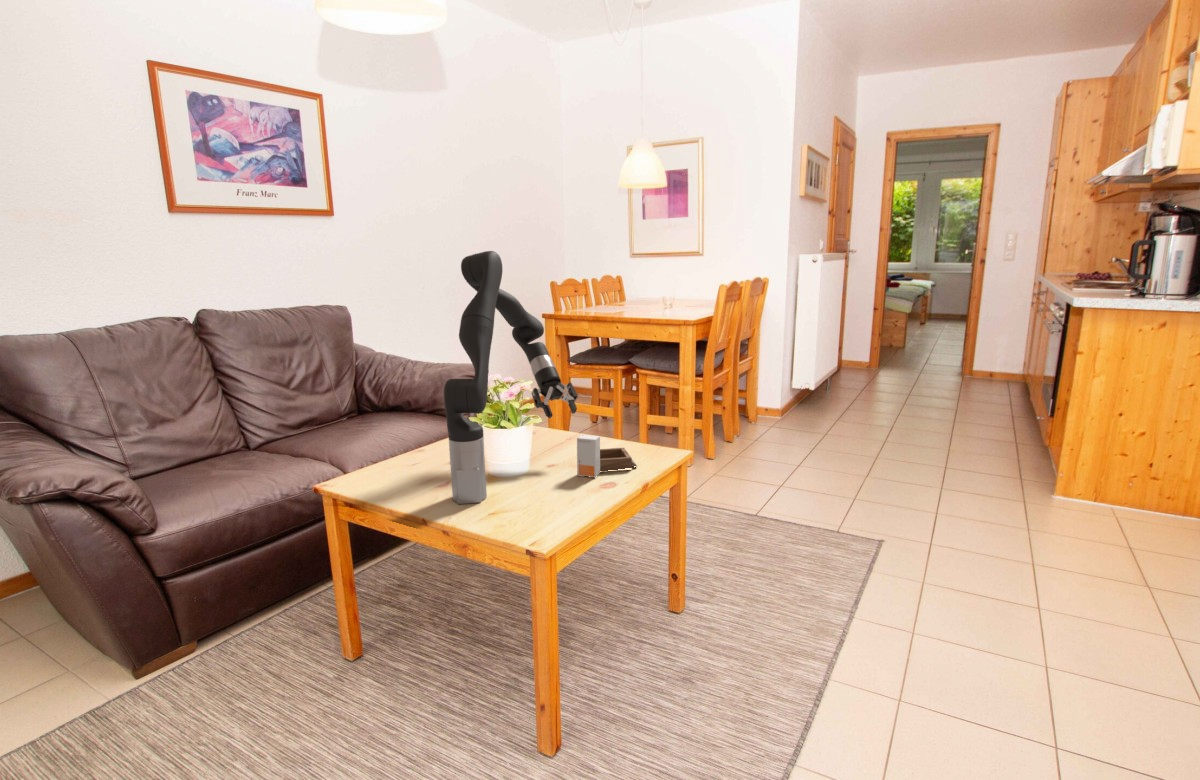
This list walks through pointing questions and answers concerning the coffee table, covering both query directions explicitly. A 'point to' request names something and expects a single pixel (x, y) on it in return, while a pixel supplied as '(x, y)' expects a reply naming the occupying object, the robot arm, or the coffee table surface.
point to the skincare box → (588, 455)
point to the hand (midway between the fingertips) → (562, 414)
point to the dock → (615, 459)
